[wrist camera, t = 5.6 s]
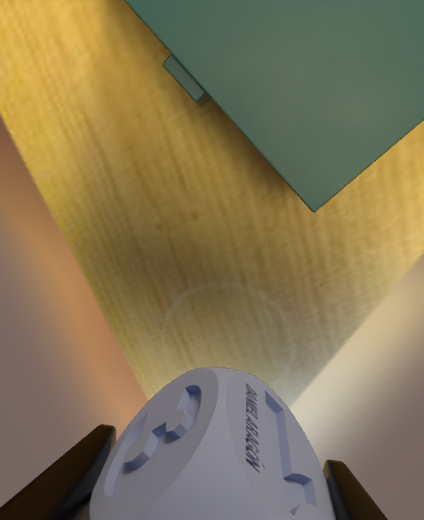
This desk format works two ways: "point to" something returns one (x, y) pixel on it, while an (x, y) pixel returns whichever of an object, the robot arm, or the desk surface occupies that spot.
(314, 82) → the box
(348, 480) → the robot arm
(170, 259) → the desk surface
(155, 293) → the desk surface
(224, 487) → the decorative dice
